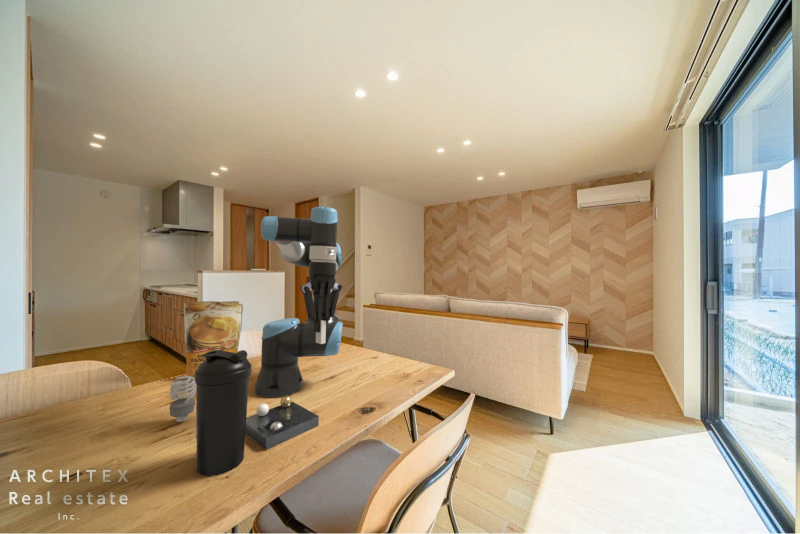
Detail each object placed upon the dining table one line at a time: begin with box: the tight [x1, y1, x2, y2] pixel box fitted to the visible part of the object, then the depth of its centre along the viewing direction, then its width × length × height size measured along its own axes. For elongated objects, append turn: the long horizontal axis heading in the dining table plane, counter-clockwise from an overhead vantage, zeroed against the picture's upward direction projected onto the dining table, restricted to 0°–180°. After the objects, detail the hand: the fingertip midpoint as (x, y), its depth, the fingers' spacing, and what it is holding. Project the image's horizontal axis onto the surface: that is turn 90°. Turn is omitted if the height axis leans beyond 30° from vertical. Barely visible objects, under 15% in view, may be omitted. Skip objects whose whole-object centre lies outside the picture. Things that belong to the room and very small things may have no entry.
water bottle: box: [194, 349, 252, 477], centre depth 61 cm, size 10×10×23 cm
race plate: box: [245, 401, 320, 451], centre depth 75 cm, size 13×14×2 cm
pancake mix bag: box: [182, 300, 244, 381], centre depth 109 cm, size 7×19×28 cm, turn 115°
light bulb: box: [169, 375, 197, 423], centre depth 76 cm, size 6×6×12 cm
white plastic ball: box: [256, 403, 270, 416], centre depth 76 cm, size 3×3×3 cm
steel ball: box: [269, 421, 283, 431], centre depth 71 cm, size 3×3×3 cm
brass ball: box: [279, 395, 293, 407], centre depth 81 cm, size 3×3×3 cm
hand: (320, 342), depth 84 cm, fingers closed
